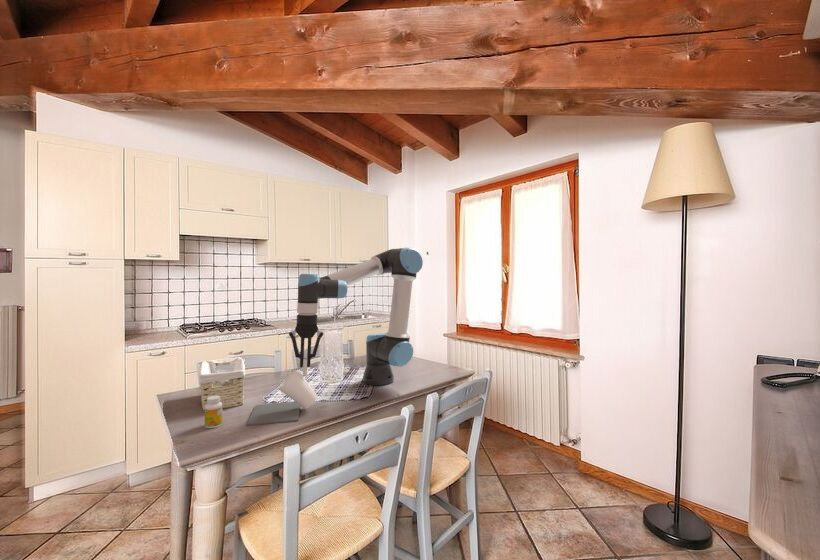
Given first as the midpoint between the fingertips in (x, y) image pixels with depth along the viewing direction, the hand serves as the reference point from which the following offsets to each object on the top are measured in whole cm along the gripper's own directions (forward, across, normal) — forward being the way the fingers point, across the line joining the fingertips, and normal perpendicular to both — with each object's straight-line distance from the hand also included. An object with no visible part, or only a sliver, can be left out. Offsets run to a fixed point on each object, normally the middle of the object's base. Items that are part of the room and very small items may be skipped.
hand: (304, 375), depth 136 cm
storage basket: (+15, +33, -20) cm, 41 cm away
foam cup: (+11, -3, 0) cm, 11 cm away
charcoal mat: (+14, +10, 0) cm, 17 cm away
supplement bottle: (+15, +29, +6) cm, 34 cm away
